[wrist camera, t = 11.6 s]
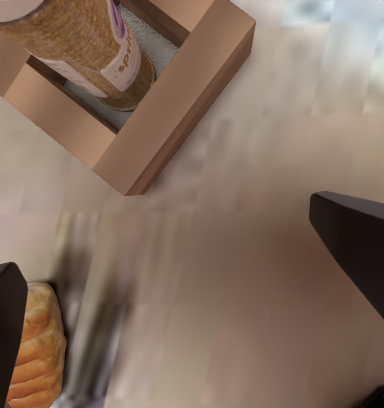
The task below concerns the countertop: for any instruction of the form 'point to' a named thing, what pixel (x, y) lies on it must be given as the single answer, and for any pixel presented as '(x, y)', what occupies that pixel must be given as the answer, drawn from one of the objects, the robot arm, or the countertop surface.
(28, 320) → the pastry
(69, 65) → the sprinkles bottle
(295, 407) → the countertop surface
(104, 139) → the socket block
